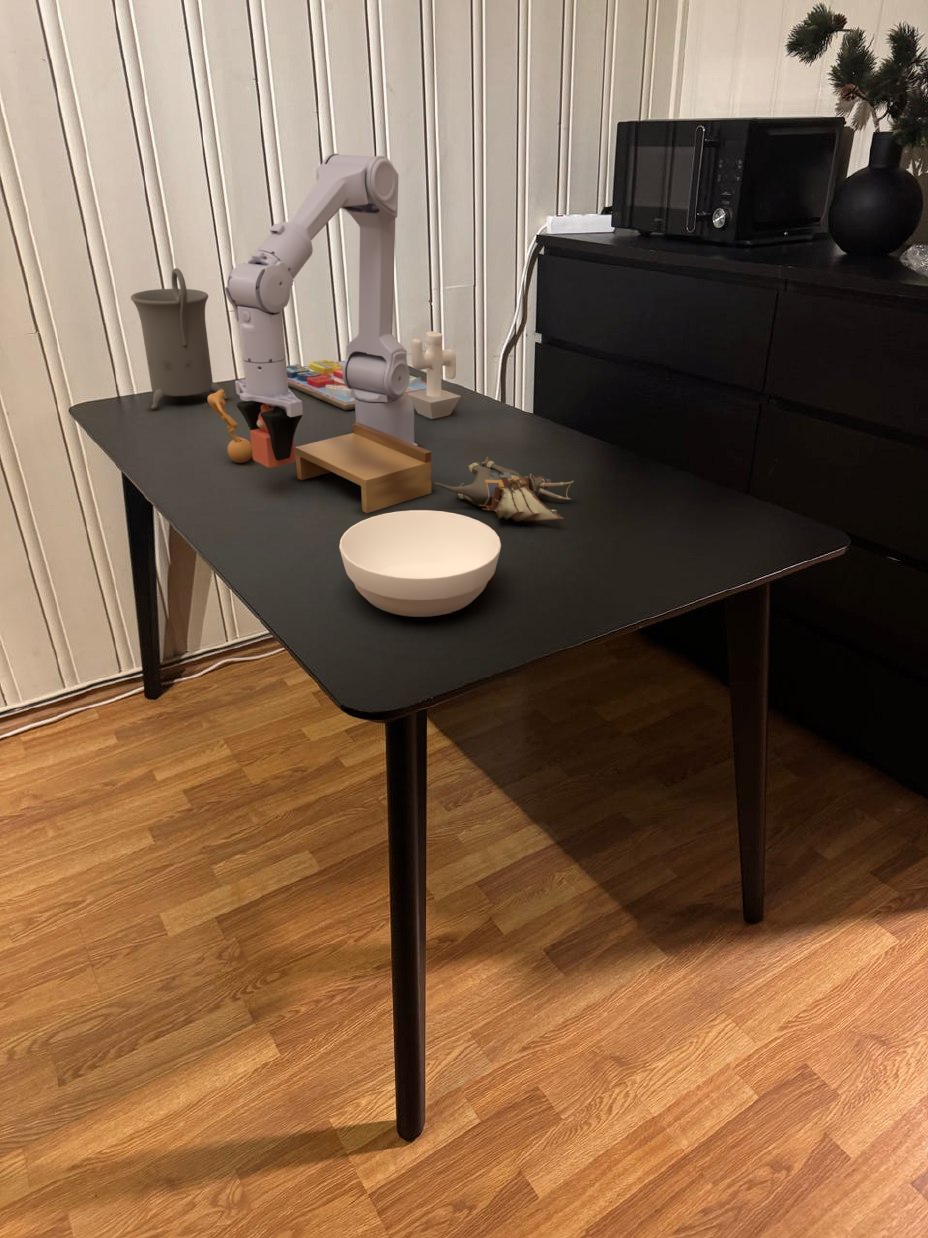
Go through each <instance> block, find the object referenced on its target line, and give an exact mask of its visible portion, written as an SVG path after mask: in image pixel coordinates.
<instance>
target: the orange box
mask: <svg viewBox="0 0 928 1238" xmlns="http://www.w3.org/2000/svg"><path fill="white" fill-rule="evenodd" d="M272 410H273V408H269V406H268V405H267V404H263V405H262V406H261V412H260V413H262V412H267V411H272ZM257 426H258V427H260V428H259V429H254V430H250V429H249V435H250V443H251V445H252V454H253V455H252V460H253V461H254V462H256V463H259V464H260V465H262V466H264V467H266V468H268V469H272V468H274V467H279V466H283V465H286V464H291V463H294V462H296V453H295V440H294V439H295V437H294V438H293V443H292V449H291V455H290V458H287V459H283V460H279V461H278V460H276V459H275V456H274V453H273V449H272V444H271V439H270V435H269V432H268V429H267V427H266V425H265V422H264V421H263V419H262V417H261V416H260V414H259V416H258V421H257Z"/></svg>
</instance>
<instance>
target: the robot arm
mask: <svg viewBox="0 0 928 1238" xmlns="http://www.w3.org/2000/svg"><path fill="white" fill-rule="evenodd" d="M315 174H316V177H315V179H316V182H315V183H314V185H313V186H312V188H311V189H310V191H309V193H308V195H307V196H306V197H305V199H304V201H303V202H302V204H301V205H300V207H299V208H298V210H297V211H296V213H295V214H294V216H293V218H291V221H280V222H278V223H273V224H272V226H271V227H270V229H269V231H270V233H269V234H268V235H267V237H266V238H265V239H264V240H263V242H262V243H261V244H260V246H259V247H258V248H257V250H255V251H254V252H253V253H252V254H251V257H250V258H249V260H248V261H247V262H242V263H238V264H237V265H235V267H234V268H232V270H231V271H230V272H229V274H228V276H227V283H226V286H225V287H224V292H225V296H226V298H227V300H228V302H229V303H230V305H231V307H233V311H234V318H235V319H236V321H237V322H238V326H239V327H238V328H239V336H240V345H241V353H242V361H243V363H242V364H243V371H244V378H242V379H237V380H235V381H234V382H235V383H234V385H235V391H236V392H235V394H236V395H238V396H239V399H240V400H241V401H239V402H237V403H236V408H237V409H238V411H239V412H240V413H241V415H242V416H243V418H244V420H245V422H246V424H247V426H248V428H249V431H250V430H254V429H259V428H260V427H258V426H257V421H258V416H259V414H260V416H261V417H262V419H263V421H264V422H265V425H266V427H267V429H268V432H269V435H270V439H271V444H272V449H273V453H274V456H275V459H276V460H278V461H279V460H283V459H287V458H290V455H291V449H292V443H293V438H294V439H295V434H296V431H297V428H298V425H299V424H300V421H301V419H302V417H303V415H304V408H303V400H301V399H299V398H298V397H297V396H296V395H295V393H294V392H292V390H291V389H290V388H289V386H288V380H287V368H286V366H287V358H286V345H285V344H286V343H285V333H284V322H283V310H284V309H285V308H286V307H287V306H288V304H289V301H290V298H291V289H292V288H293V285H294V282H295V280H294V279H295V278H296V276H297V275H298V274H299V272H300V271H301V270H302V268H303V267H304V266H305V265H306V263H307V262H308V260H309V259H310V258H311V257H312V255H313V252H314V248H313V243H312V240H313V239H314V238H315V237H316V236H317V235H318V234H319V233H320V231H322V230H323V228H324V227H326V225H327V224H328V223H329V222H330V221H331V220H332V218H333V217H334V216H336V214H337V213H338V212H339V211H340V210H342V211H343V212H346V213H347V214H348V215H350V216H351V217H352V219H353V220H354V221H355V222H356V224H357V225H358V227H359V262H358V263H359V265H358V266H359V268H358V270H359V271H358V272H359V275H358V334H357V335H356V336H355V337H354V338H353V339H351V340H350V341H349V342H348V343H347V345H346V349H345V350H346V351H345V353H346V354H345V359H344V361H345V362H344V365H343V380H344V383H345V385H346V386H347V387H348V388H349V389H351V395H352V396H354V397H355V409H354V412H355V423H358V422H359V423H361V424H364V425H366V426H369V427H371V428H374V429H376V430H379V431H381V432H384V433H386V434H389V435H391V436H394V437H396V438H399V439H401V440H404V441H406V442H409V443H411V444H414V445H416V446H418V444H417V443H416V442H415V407H414V406H413V404H412V401H411V399H410V398H409V396H408V395H407V394H406V393H404V392H405V391H406V389H407V387H408V384H409V377H410V375H409V373H410V369H409V366H408V359H407V355H408V354H407V353H408V352H407V351H408V350H407V349H406V348H405V346H403V345H402V344H401V343H400V342H399V341H398V340H397V339H396V338H395V336H394V335H393V326H394V325H393V324H394V322H393V319H394V317H393V316H394V290H395V289H394V286H395V285H394V284H395V252H396V249H395V246H396V219H397V218H398V210H399V209H398V206H399V173H398V172H397V169H396V168H395V166H394V165H393V163H392V162H391V161H390V159H389V158H388V157H387V156H384V155H375V156H371V155H369V156H368V155H349V154H339V153H333V152H332V153H329V154H327V155H326V156H325V157H324V158H323V160H322V163H321V164H320V165H318V166H317V168H316V173H315ZM263 404H267V405H268V406H269V408H273V410H272V411H267V412H262V413H260V412H261V406H262V405H263Z"/></svg>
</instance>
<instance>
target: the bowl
mask: <svg viewBox="0 0 928 1238" xmlns="http://www.w3.org/2000/svg"><path fill="white" fill-rule="evenodd" d="M338 548H339V552H340V555H341V560H342V564H343V566H344V569H345V570H344V571H345V574H346V575H347V577H348V578H349V579H350V580H351V582H353V584H354V586H355V589H356V590H357V592H358V593H359V594H360V595H361V596H362V597H363V598H364V599H365V600H366V601H368V602H369V603H370V604H371V605H373V606H374V607H376V608H378V609H379V610H382V611H384V612H386V613H390V614H394V615H398V616H403V617H412V618H413V617H414V618H426V617H427V618H428V617H436V616H442V615H447V614H451V613H454V612H456V611H459V610H461V609H463V608H465V607H467V606H468V605H470V604H471V603H472V602H473V601H474V600H475V599H476V598H478V596H480V595H481V593H483V591H485V588H486V587H487V585H488V582H489V581H490V580H491V579H492V578H493V576H494V575H495V573H496V569H497V566H498V565H497V564H498V561H499V557H500V554H501V549H502V543H501V539H500V537H499V536H498V534H497V532H496V531H495V530H494V529H492V527H490V526H489V525H487V524H486V523H484V522H482V521H480V520H478V519H474V518H472V517H470V516H467V515H463V514H460V513H459V514H458V513H454V512H448V511H441V510H431V509H429V510H427V509H417V510H416V509H414V510H412V509H410V510H401V511H400V510H399V511H393V512H386V513H381V514H378V515H375V516H370V517H369V518H366V519H363V520H360V521H358V522H357V523H355V524H354V525H351V526H350V527H349V528H348V529H347V530H345V532H343V535H342V536H341V538H340V541H339V547H338Z"/></svg>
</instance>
